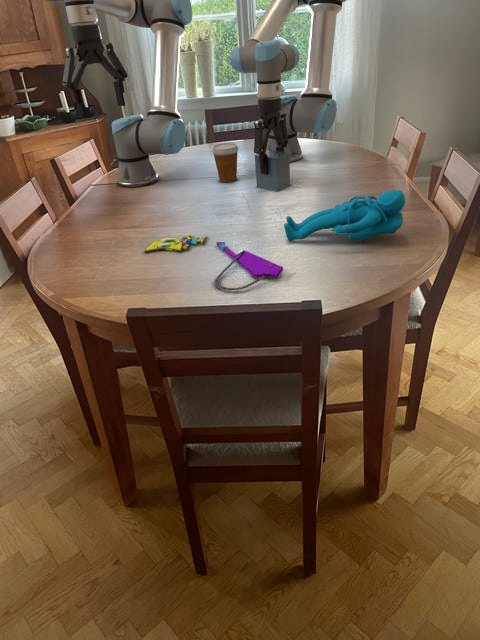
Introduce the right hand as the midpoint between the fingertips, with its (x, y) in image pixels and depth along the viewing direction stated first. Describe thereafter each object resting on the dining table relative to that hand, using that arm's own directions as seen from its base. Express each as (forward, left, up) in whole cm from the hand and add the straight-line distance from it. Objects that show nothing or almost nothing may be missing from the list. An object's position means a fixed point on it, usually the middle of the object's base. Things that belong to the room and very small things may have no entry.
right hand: (272, 170), depth 163 cm
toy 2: (+45, +23, -6) cm, 51 cm away
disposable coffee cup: (-8, -18, -6) cm, 20 cm away
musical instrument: (+63, -2, -6) cm, 63 cm away
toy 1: (+49, -21, -6) cm, 53 cm away
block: (0, 0, -6) cm, 6 cm away
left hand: (+23, -46, +25) cm, 57 cm away
